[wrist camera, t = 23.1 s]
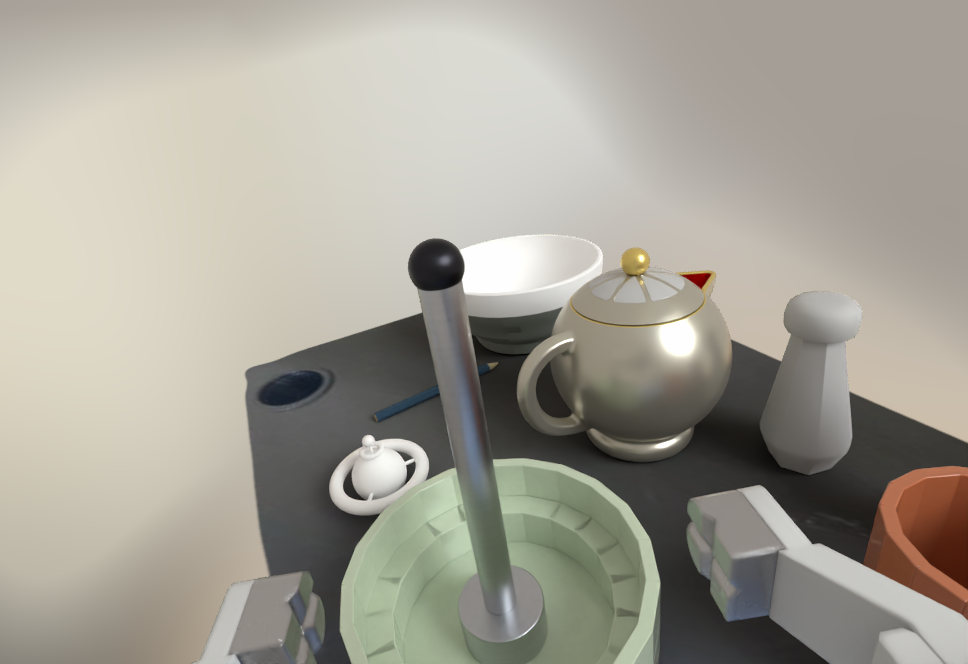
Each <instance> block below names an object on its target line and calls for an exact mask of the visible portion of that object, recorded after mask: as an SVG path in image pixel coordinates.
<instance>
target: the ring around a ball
mask: <svg viewBox="0 0 968 664" xmlns="http://www.w3.org/2000/svg"><path fill="white" fill-rule="evenodd" d="M362 444H363V446H362V447H361V448H359V449H357V450H355V451H354V452H352V453H351V454H350V455H348V456H347V457H346V458H345V459H344V460H343V461H342V462H341V463H340V464H339V465H338V466H337V468H336V469H335V471H334V473H333V475H332V477H331V480H330V485H329V491H330V496H331V498H332V501H333V502H334V503H335V505H336V506H337V507H338V508H340V509H341V510H343V511H345V512H347V513H350V514H354V515H362V516H365V515H375V514H380V513H382V511H384V510H385V509H386V508H387V507H389V506H390V505H391V504H392V503H393V502H395V501H396V500H397V499H398V498H400V497H401V496H402V495H403V494H405V493H406V492H407V491H408V490H410V489H411V488H412V487H414V486H416V485H418V484H420V483H422V482H424V481H425V480H426V478H427V475H428V471H429V461H428V457H427V455H426V453H425V452H424V450H423V449H422V448H421V447H420V446H418V445H417V444H415V443H413V442H411V441H407V440H403V439H385V440H380V441H375V440H374V437H373V436H371V435H366V436H365V437H364V438H363V439H362ZM396 451H398V452H403V453H406V454H408V455H410V456H411V457H413V459H411V460H408V461H406V462H404V460H403V458H402V457H401V456H400V455H399V454H398V453H397V452H396ZM413 462H415V463H416V469H415V472H414V474H413V476H412V478H411V479H410V480H409V481H408V482H407V484H405V482H406V478H407V469H406V465H408V464H410V463H413ZM352 468H353V470H352V482H353V486H354V488H355V490H356V492H357V493H358V494H359V495H360V496H361V497H362V498H364V499H365V500H367V501H361V500H355V499H352V498H350V497H349V496H347V495H346V494H345V492H344V490H343V483H344V480H345V478H346V476H347V474H348V473H349V472H350V471H351V469H352Z"/></svg>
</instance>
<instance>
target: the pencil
mask: <svg viewBox="0 0 968 664" xmlns="http://www.w3.org/2000/svg"><path fill="white" fill-rule="evenodd" d="M499 363H500V362H496V363H488V364H484V365H481V366H479V367H477V370H478V376H481V375H483V374H485V373H487V372H489V371H490V370H492V369H493V368H494V367H495V366H496V365H497V364H499ZM439 394H440V392H439V388H438V385H437V386H434V387H432V388H430V389H428V390H425V391H423V392H421V393H419V394H417V395H414V396H412V397H410V398H408V399H405V400H403V401H401V402H399V403H396V404H394V405H392V406H390V407H387V408H385V409H383V410H381V411H378V412H376V413H374V417H375V420H376V421H377V422H380V421H382V420H384V419H387V418H389V417H391V416H393V415H395V414H398V413H400V412H402V411H404V410H406V409H408V408H411V407H413V406H415V405H417V404H419V403H422V402H424V401H426V400H428V399H430V398H433V397H435V396H437V395H439Z"/></svg>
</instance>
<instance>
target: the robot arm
mask: <svg viewBox="0 0 968 664" xmlns="http://www.w3.org/2000/svg"><path fill="white" fill-rule="evenodd" d="M687 512H688V514H689V516H690V517H691V519H692V522H691V523H690V524H689V525H688V527H687V542H688V546H689V551H690V554H691V556H692V559H693V561H694V564H695V565H696V567H697V569H698V571H699V573H700V574H702V575H703V576H705V577H706V578H708V579H709V580H711V587H710V593H711V595H712V596H713V598H714V600H715V602H716V603H717V605H718V607H719V609H720V610H721V612H722V614H723V616H724V618H725V619H726V621H727V622H729V621H735V620H741V619H747V618H753V617H759V616H766V615H769V618H771V619H772V620H773V621H775V622H776V623H777V624H779V625H780V626H781V627H782V628H784V629H785V630H786V631H788V632H789V633H790V634H792V635H793V636H794V637H796V638H797V639H798V640H800V641H801V642H802V643H804V644H805V645H806V646H807V647H809V648H810V649H811V650H813V651H814V652H815V653H817V654H818V655H819V656H821V657H822V658H823V659H825V660H826V661H827V662H829V663H830V664H968V620H967V619H966V618H965V617H964V616H963V615H962V614H960V613H958V612H956V611H954V610H952V609H950V608H948V607H946V606H944V605H942V604H940V603H938V602H936V601H934V600H932V599H930V598H928V597H926V596H924V595H922V594H920V593H918V592H916V591H914V590H912V589H910V588H908V587H906V586H904V585H902V584H900V583H898V582H896V581H894V580H892V579H890V578H888V577H886V576H884V575H882V574H880V573H878V572H876V571H874V570H872V569H870V568H868V567H866V566H864V565H862V564H860V563H858V562H856V561H854V560H852V559H850V558H848V557H846V556H844V555H842V554H840V553H838V552H836V551H834V550H832V549H830V548H828V547H826V546H824V545H822V544H820V543H818V544H812V543H811V542H810V541H809V540H808V538H807V537H806V536H805V535H804V534H803V533H802V531H801V530H800V529H799V528H798V527H797V525H796V524H795V523H794V522H793V521H792V520H791V518H790V517H789V516H788V515H787V514H786V512H785V511H784V510H783V509H782V508H781V506H780V505H779V504H778V503H777V502H776V501H775V499H774V498H773V497H772V496H771V495H770V493H769V492H768V491H767V490H766V489H765V488H764V487H762V486H760V485H757V486H752V487H747V488H742V489H737V490H730V491H725V492H720V493H715V494H710V495H705V496H700V497H695V498H690V500H689V502H688V509H687ZM312 586H313V580H312V578H311V576H310V574H309V572H308V571H301V572H295V573H289V574H283V575H276V576H270V577H264V578H258V579H253V580H248V581H242V582H235V583H233V584H232V585H231V586H230V588H229V589H228V590H227V592H226V594H225V597H224V599H223V602H222V605H221V607H220V610H219V612H218V615H217V617H216V620H215V622H214V625H213V627H212V630H211V632H210V635H209V637H208V640H207V642H206V645H205V647H204V650H203V653H202V655H201V658H200V660H199V661H196V662H192V663H191V664H317V662H316V660H315V658H314V656H315V654H316V653H317V652H318V650H319V649H320V648H321V647H322V645H323V641H324V634H325V613H324V608H323V604H322V601H321V599H320V596H318V595H316V594H314V593H313V592H311V591H312Z"/></svg>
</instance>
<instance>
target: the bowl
mask: <svg viewBox="0 0 968 664" xmlns="http://www.w3.org/2000/svg"><path fill="white" fill-rule="evenodd" d="M459 251H460V252H461V254H462V256H463V259H464V264H465V271H464V275H463V278H462V282H463V288H464V294H465V299H466V305H467V311H468V317H469V323H470V329H471V334H472V335H474V336H476V338H477V339H478V341H479V342H480V343H481V344H482V345H483V346H484V347H485V348H487V349H489V350H491V351H494V352H497V353H504V354H528V353H531V352H532V351H533V350H534V349H535V348H536V347H537V346H538V345H539V344H540V343H542V342H543V341H545V340H546V339H548V338H550V337H551V335H552V331H553V327H554V324H555V322H556V319H557V317H558V315H559V313H560V311H561V310H562V308H563V306H564V305H565V304H566V302H567V301H568V300H569V298H570V297H571V296H572V295H573V294H574V293H575V292H576V291H577V290H578V289H579V288H580V287H582V286H583V285H584V284H586V283H587V282H589V281H590V280H592V279H593V278H595V277H597V276H599V275H601V271H602V265H603V255H602V251H601V249H600V248H599V247H598V246H597V245H595V244H593V243H592V242H590V241H588V240H585V239H581V238H577V237H572V236H565V235H549V234H541V235H540V234H538V235H522V236H513V237H506V238H500V239H495V240H491V241H486V242H482V243H479V244H475V245H472V246H469V247H466V248H463V249H461V250H459Z"/></svg>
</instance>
